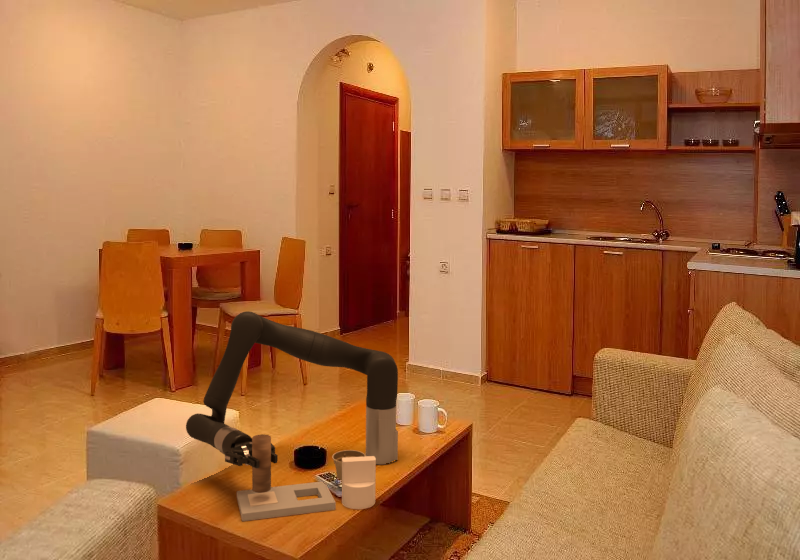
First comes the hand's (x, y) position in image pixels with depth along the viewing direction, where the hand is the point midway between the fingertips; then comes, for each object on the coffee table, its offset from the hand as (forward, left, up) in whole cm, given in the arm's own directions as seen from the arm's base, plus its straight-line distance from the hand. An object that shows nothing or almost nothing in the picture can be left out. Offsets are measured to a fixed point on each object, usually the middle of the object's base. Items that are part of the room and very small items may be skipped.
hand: (267, 461), depth 188 cm
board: (-5, -2, -13) cm, 14 cm away
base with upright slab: (-24, +2, -13) cm, 27 cm away
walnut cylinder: (+1, -2, -8) cm, 9 cm away
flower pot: (-24, -9, -13) cm, 29 cm away
